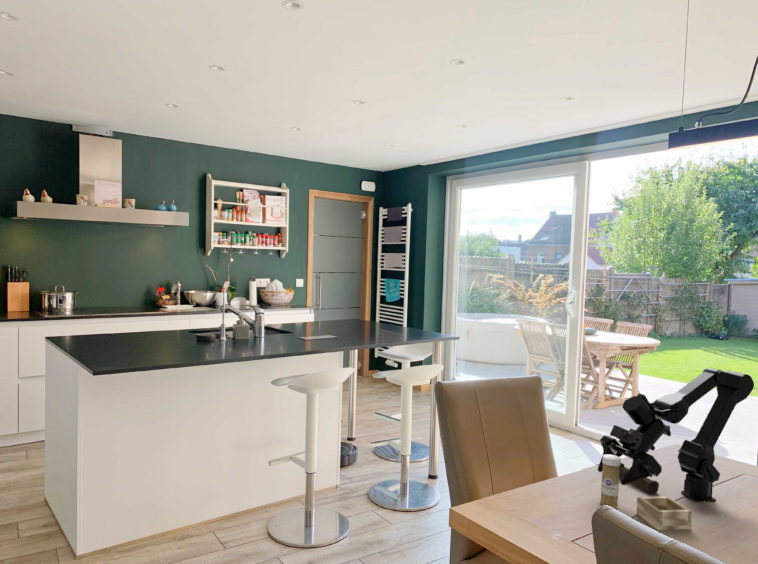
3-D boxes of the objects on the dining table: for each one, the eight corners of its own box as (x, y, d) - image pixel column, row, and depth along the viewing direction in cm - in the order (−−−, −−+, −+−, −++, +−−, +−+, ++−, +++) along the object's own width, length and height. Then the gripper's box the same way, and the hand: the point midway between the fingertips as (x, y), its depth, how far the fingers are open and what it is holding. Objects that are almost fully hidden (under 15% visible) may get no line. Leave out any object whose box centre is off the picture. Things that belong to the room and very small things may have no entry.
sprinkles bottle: (600, 506, 149) (602, 457, 149) (600, 500, 154) (602, 452, 153) (618, 510, 148) (621, 460, 147) (617, 503, 152) (620, 455, 152)
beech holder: (667, 513, 147) (668, 496, 147) (690, 529, 138) (692, 511, 138) (636, 513, 146) (637, 497, 146) (658, 529, 137) (659, 512, 137)
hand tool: (659, 494, 161) (660, 478, 160) (648, 495, 159) (649, 479, 159) (614, 471, 179) (615, 456, 179) (604, 471, 178) (604, 457, 177)
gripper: (607, 407, 161) (572, 446, 158) (655, 425, 143) (616, 470, 140) (628, 433, 163) (594, 472, 160) (678, 454, 145) (640, 498, 142)
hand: (609, 477), depth 150 cm, fingers open, 9 cm apart
